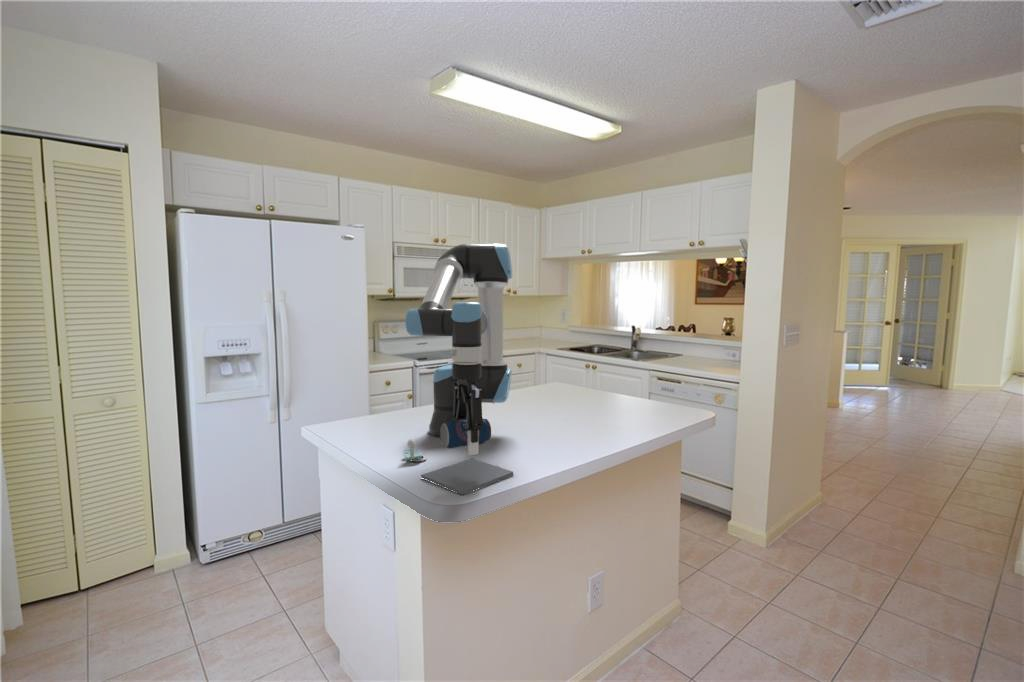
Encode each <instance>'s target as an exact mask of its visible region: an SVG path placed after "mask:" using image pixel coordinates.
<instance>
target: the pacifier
mask: <svg viewBox="0 0 1024 682" xmlns="http://www.w3.org/2000/svg"><path fill="white" fill-rule="evenodd" d="M407 447H408V448H407V449H405V450H404V451H403V457H404V458H406V459H407V460H408V461H409V460H412V461H416V462H418V461H421V462H424V460H425V461H426V460H427V456H426V455H424V454H423V453H421V452H420V451H419V450H416V448H415V444H414V441H413V440H412V439H408V441H407ZM422 457H423V458H422ZM419 458H420V459H419Z"/></svg>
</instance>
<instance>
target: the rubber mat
mask: <svg viewBox="0 0 1024 682" xmlns="http://www.w3.org/2000/svg"><path fill="white" fill-rule="evenodd" d="M512 475H513V476H514V471H512V470H509V469H506V468H503V467H500V466H498V465H494V464H490V463H489V462H486V461H482V460H481V459H480V460H479V459H476V458H473V457H471V458H468V459H465V460H462V461H459V462H456V463H452V464H449V465H447V466H444V467H443V466H442V467H441V468H437V469H434V470H431V471H429V472H426V473H422V474H421V475H420V478H421V477H422V478H424V479H427V480H429V481H432V482H434V483H436V484H439V485H441V486H443V487H446V488H448V489H450V490H453V491H455V492H457V493H459V494H462V495H463V494H465V495H467V494H466V493H468V494H470V493H472V492H471V491H473V490H475V491H477V490H476V489H478V488H480V489H482V488H481V487H483V488H485V487H487V486H486V485H488V486H490V485H492V484H491V483H493V484H495V483H498V482H500V481H502V479H503V480H505V479H507V477H508V478H510V477H509V476H511V477H513V476H512ZM504 478H505V479H504ZM499 480H500V481H499ZM497 481H498V482H497ZM494 482H495V483H494ZM489 484H490V485H489ZM484 486H485V487H484ZM450 490H449V491H450ZM478 490H479V489H478ZM455 492H454V493H455ZM469 492H470V493H469ZM473 492H474V491H473ZM457 493H456V494H457ZM459 494H458V495H459ZM462 495H461V496H462ZM463 496H464V495H463Z"/></svg>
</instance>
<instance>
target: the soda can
mask: <svg viewBox="0 0 1024 682" xmlns="http://www.w3.org/2000/svg"><path fill="white" fill-rule="evenodd" d="M482 422H483V428H481V429H478V443H479V445H481V444H484V443H486V442H488V441H490V440H491V437H492V427H491V422H490V421H489V420H488V419H487V418H483V417H482ZM467 428H469V424H468V419H460V420H451V421H446V422H445V423H443V424H442V425H441V428H440V437H439V438H440V442H441V444H442V446H444V447H446V448H448V449H455V448H461V447H462V448H463V447H468V445H467V438H468V434H467Z"/></svg>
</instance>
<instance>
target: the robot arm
mask: <svg viewBox="0 0 1024 682" xmlns="http://www.w3.org/2000/svg"><path fill="white" fill-rule="evenodd" d="M511 259H512V257H511V253H510V249H509V247H508V246H507V245H506V244H505V243H463V244H458V245H456V246H454V247H451V248H450V249H448V250H447V251H445V252H444V253H443V254H442V255H441V256H439V258H438V259H437V261H436V263H435V265H434V269H433V271H434V275H433V278H432V280H431V282H430V285H429V287H427V288H428V289H427V290H426V293H425V295H424V297H423V300H422V302H421V305H420V306H419V308H417V307H415V308H410V309H408V310H407V312H406V314H405V328H406V332H407V333H408V334H409V335H410V336H417V337H418V336H420V337H451V347H452V348H451V349H452V350H450V354H451V356H452V357H451V358H452V359H451V361H452V362H454V363H452V364H448V365H443V366H440V367H437V368H435V370H434V371H433V381H432V383H433V413H432V415H431V420H430V423H429V424H428V430H429V431H428V433H429V434H430V435H431V434H433V435H432V436H434V435H435V436H434V437H439V438H441V437H440V428H441V425H442V424H443V423H445V422H446V421H451V420H460V419H468V424H469V428H467V434H468V438H467V445H468V446H467V456H473V455H479V445H480V444H479V443H478V429H481V428H483V422H482V418H483V405H482V403H483V404H484V403H485V404H490V403H492V404H502V403H505V402H506V401H508V398H509V394H510V391H511V390H510V389H511V382H512V369H510V368H508V363H507V362H506V360H505V359H504V289H505V288H506V287H507V286H508V284H509V280H510V279H512V278H513V266H512V260H511ZM463 279H472V280H473V284H474V285H475V287H476V288H477V289H478V290H477V291H478V292H477V295H478V296H477V298H478V299H477V302H475V301H474V302H473V301H470V302H468V301H467V302H465V301H464V302H462V301H461V302H457V301H456V302H453V304H452V306H451V308H449V305H450V302H451V300H452V297H453V295H454V292H455V289H456V286H457V284H458V283H459V282H460V281H462V280H463Z"/></svg>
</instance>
